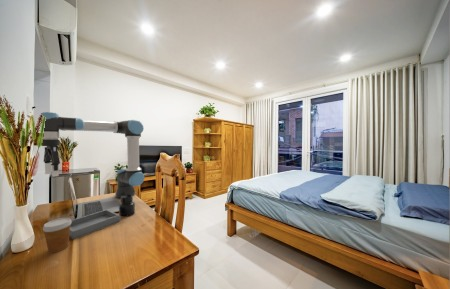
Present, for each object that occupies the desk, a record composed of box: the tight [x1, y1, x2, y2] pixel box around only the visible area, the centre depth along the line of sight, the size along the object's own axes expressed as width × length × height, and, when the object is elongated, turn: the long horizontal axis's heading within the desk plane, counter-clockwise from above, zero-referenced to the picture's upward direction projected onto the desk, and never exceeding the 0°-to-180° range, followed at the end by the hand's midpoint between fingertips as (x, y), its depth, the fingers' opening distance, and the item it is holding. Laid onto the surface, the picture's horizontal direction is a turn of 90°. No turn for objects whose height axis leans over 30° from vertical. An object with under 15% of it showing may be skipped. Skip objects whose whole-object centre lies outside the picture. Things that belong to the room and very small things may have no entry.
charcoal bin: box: [69, 209, 121, 240], centre depth 99 cm, size 22×16×4 cm
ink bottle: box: [118, 194, 136, 218], centre depth 114 cm, size 10×9×12 cm
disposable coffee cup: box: [42, 217, 72, 254], centre depth 78 cm, size 10×10×12 cm
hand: (51, 175), depth 103 cm, fingers open, 13 cm apart
